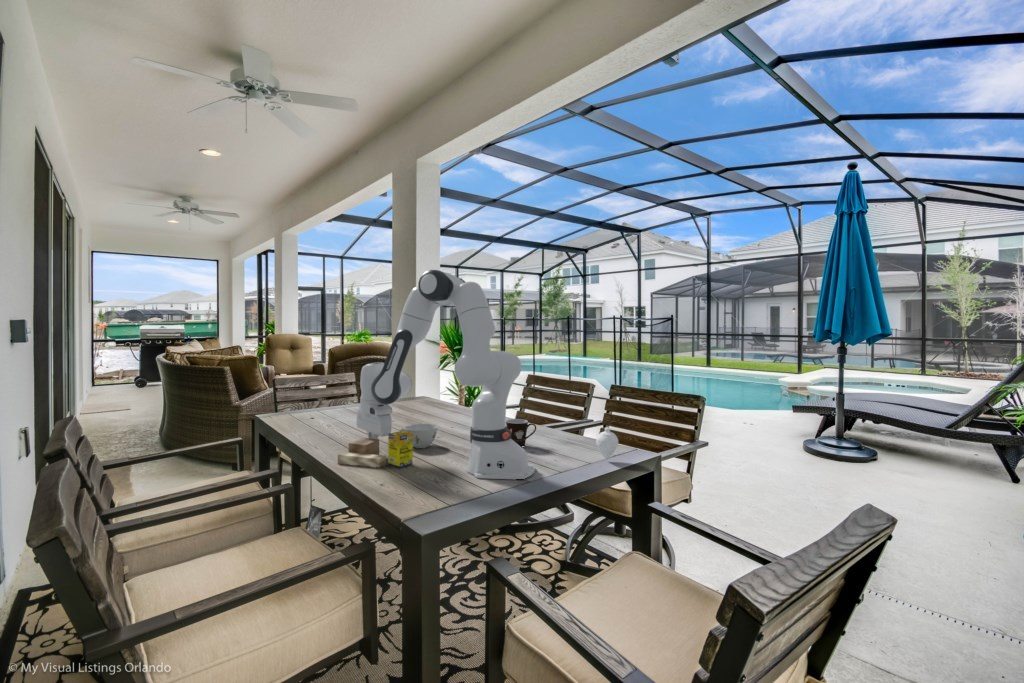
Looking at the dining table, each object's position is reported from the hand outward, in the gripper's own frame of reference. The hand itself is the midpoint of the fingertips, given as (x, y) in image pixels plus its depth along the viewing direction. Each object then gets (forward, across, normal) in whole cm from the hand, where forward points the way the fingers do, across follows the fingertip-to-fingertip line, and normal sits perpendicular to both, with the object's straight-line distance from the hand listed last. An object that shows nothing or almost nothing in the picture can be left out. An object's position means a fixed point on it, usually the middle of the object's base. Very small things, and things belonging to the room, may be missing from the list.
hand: (373, 444), depth 171 cm
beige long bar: (+4, +9, -9) cm, 13 cm away
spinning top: (+4, +63, +56) cm, 85 cm away
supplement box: (+4, +18, +1) cm, 19 cm away
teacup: (+4, +2, +18) cm, 18 cm away
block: (+4, +3, -5) cm, 7 cm away
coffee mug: (+4, +29, +48) cm, 56 cm away
